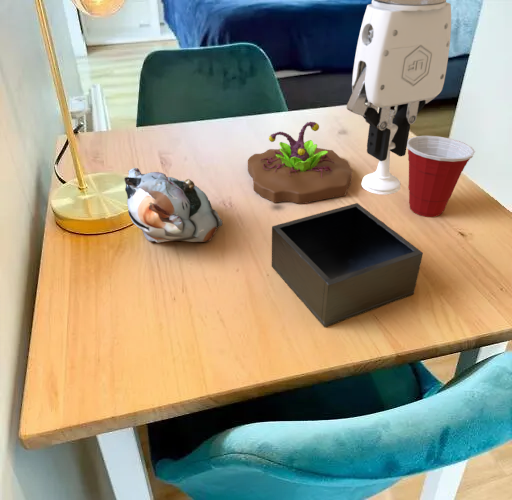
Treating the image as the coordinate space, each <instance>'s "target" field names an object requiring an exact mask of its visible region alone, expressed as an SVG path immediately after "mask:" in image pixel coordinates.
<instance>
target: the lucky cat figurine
mask: <svg viewBox="0 0 512 500" xmlns="http://www.w3.org/2000/svg"><path fill="white" fill-rule="evenodd" d="M127 171H128V176H126V177H124V180H123V181H124V182H125V188H124V190H125V193H126V196H127V200H126V201H127V202H126V204H127V209H128V210H127V213H128V216H129V218H130V220H131V222H132V224H133V225H134V226H136V227H137V228H138V229H139V230H140V231H142V233H143V235H144V238H145V239H146V240H147V241H148V242H149V243H151V242H155V243H158V244H159V243H164V242H176V241H181V242H192V243H203V242H204V243H208V242H210V241H211V240H212V238H213V237H214V235H215V233H216V231H217V229H218V228H220V227H221V226H223V220H222V218H221V217H220V215H219V213H218V211H217V210H216V209H214V208H212V203H211V201H210V199H209V198H208V197H209V196H208V195H207V194H206V193H205V192H204V191H203V190H202V189H201V188H199V186H197V185H195V182H194V181H193V180H191V179H190V178H186V179H185V180H180V179H177V178H176V177H173V176H167V175H166V174H165V173H163V172H161V171H160V172H159V171H152V172H148V173H142V172H141V171H140V169H139V168H138V167H133V168H131V169H129V170H127Z"/></svg>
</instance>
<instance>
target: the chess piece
mask: <svg viewBox="0 0 512 500" xmlns="http://www.w3.org/2000/svg"><path fill="white" fill-rule="evenodd" d="M394 117H395V116H394V109H390V114H389V120H388V126H387V128H388V129H390V131H391V133H390V140H389V146H388V153H387V158H386V160H384V161H380V160H378V164H377V167H376V170H375V171H373V172H370V173H368V174H365V175H364V176H363V178H362V181H361V187H362V188H363V189H364V190H365V191H367V192H369V193H371V194H373V195H381V196H386V195H387V196H389V195H394V194H396V193H398V192H399V191H400V190H401V180H400V179H399V178H398V177H397V176H395V175H393V174H392V173H391V172H390V162H391V161H390V160H391V159H390V157H391V151H390V149H394V148H395V147H396V146H395V143H394V142H392V139H393V137H394V135H395V133H396V132H397V129H398V126H397V125H395V124H393V123H392V121H393V118H394Z"/></svg>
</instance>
